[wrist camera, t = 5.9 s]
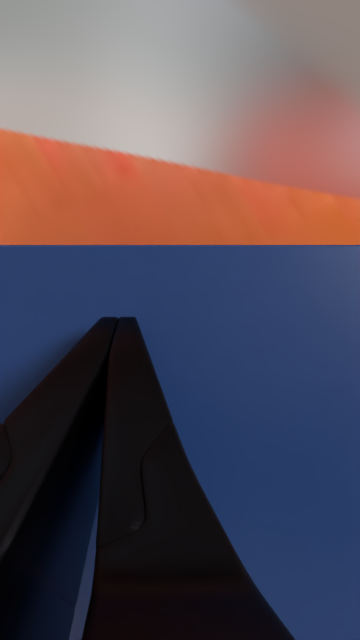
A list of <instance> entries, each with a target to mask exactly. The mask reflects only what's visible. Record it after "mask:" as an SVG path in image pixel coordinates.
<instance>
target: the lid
mask: <svg viewBox="0 0 360 640" xmlns="http://www.w3.org/2000/svg"><path fill="white" fill-rule="evenodd" d="M101 317H118V318H120V317H136V319H137V321H138V324H139V327H140V330H141V332H142V335H143V338H144V341H145V343H146V346H147V349H148V352H149V355H150V357H151V360H152V363H153V366H154V368H155V371H156V374H157V377H158V380H159V382H160V385H161V388H162V391H163V393H164V396H165V399H166V402H167V404H168V407H169V410H170V413H171V416H172V418H173V423H174V424H175V426H176V429H177V432H178V435H179V437H180V440H181V442H182V445H183V447H184V450H185V452H186V455H187V457H188V460H189V462H190V464H191V466H192V468H193V470H194V472H195V475H196V477H197V479H198V481H199V483H200V485H201V487H202V489H203V491H204V492H205V494H206V496H207V498H208V500H209V502H210V504H211V506H212V508H213V510H214V511H215V513H216V515H217V517H218V519H219V521H220V523H221V525H222V527H223V528H224V530H225V532H226V534H227V536H228V538H229V540H230V542H231V544H232V545H233V547H234V549H235V551H236V553H237V555H238V556H239V558H240V560H241V562H242V563H243V565H244V567H245V569H246V570H247V572H248V574H249V575H250V577H251V578H252V580H253V582H254V583H255V585H256V586H257V588H258V589H259V591H260V592H261V594H262V595H263V597H264V598H265V599H266V601H267V602H268V603H269V605H270V606H271V607H272V609H273V610H274V611H275V613H276V614H277V615H278V617H279V618H280V619H281V621H282V622H283V624H284V625H285V626H286V628H287V629H288V630H289V632H290V633H291V634H292V636H293V637H294V638H295V640H360V245H0V424H4V420H5V419H6V418H7V417H8V416H9V415H10V414H11V412H12V411H13V410H14V409H15V408H16V407H17V406H18V405H19V404H20V403H21V402H22V401H23V400H24V399H25V398H26V396H27V395H28V394H29V393H30V392H31V391H32V390H33V389H34V388H35V387H36V386H37V385H38V384H39V383H40V382H41V381H42V379H43V378H44V377H45V376H46V375H47V374H48V373H49V372H50V371H51V370H52V369H53V368H54V367H55V366H56V365H57V364H58V362H59V361H60V360H61V359H62V358H63V357H64V356H65V355H66V354H67V353H68V352H69V351H70V350H71V349H72V348H73V347H74V345H75V344H76V343H77V342H78V341H79V340H80V339H81V338H82V337H83V336H84V335H85V334H86V333H87V332H88V331H89V330H90V328H91V327H92V326H93V325H94V324H95V323H96V322H97V321H98V320H99V319H100V318H101ZM98 505H99V499H98V503H97V508H96V513H95V518H94V522H93V527H92V532H91V537H90V541H89V546H88V551H87V556H86V560H85V565H84V570H83V575H82V579H81V584H80V589H79V594H78V598H77V603H76V607H75V608H74V609H75V613H74V618H73V623H72V627H71V632H70V637H69V640H82V635H83V630H84V625H85V621H86V616H87V611H88V607H89V602H90V597H91V591H92V583H93V575H94V565H95V553H96V550H97V549H96V535H97V520H98Z"/></svg>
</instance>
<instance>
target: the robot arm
mask: <svg viewBox="0 0 360 640" xmlns="http://www.w3.org/2000/svg"><path fill="white" fill-rule="evenodd" d="M98 499H99V505H98V520H97V535H96V549H97V550H96V553H95V565H94V575H93V583H92V591H91V597H90V602H89V607H88V611H87V616H86V621H85V625H84V630H83V635H82V640H295V638H294V637H293V636H292V634H291V633H290V632H289V630H288V629H287V628H286V626H285V625H284V624H283V622H282V621H281V619H280V618H279V617H278V615H277V614H276V613H275V611H274V610H273V609H272V607H271V606H270V605H269V603H268V602H267V601H266V599H265V598H264V597H263V595H262V594H261V592H260V591H259V589H258V588H257V586H256V585H255V583H254V582H253V580H252V578H251V577H250V575H249V574H248V572H247V570H246V569H245V567H244V565H243V563H242V562H241V560H240V558H239V556H238V555H237V553H236V551H235V549H234V547H233V545H232V544H231V542H230V540H229V538H228V536H227V534H226V532H225V530H224V528H223V527H222V525H221V523H220V521H219V519H218V517H217V515H216V513H215V511H214V510H213V508H212V506H211V504H210V502H209V500H208V498H207V496H206V494H205V492H204V491H203V489H202V487H201V485H200V483H199V481H198V479H197V477H196V475H195V472H194V470H193V468H192V466H191V464H190V462H189V460H188V457H187V455H186V452H185V450H184V447H183V445H182V442H181V440H180V437H179V435H178V432H177V429H176V426H175V424H174V423H173V418H172V416H171V413H170V410H169V407H168V404H167V402H166V399H165V396H164V393H163V391H162V388H161V385H160V382H159V380H158V377H157V374H156V371H155V368H154V366H153V363H152V360H151V357H150V355H149V352H148V349H147V346H146V343H145V341H144V338H143V335H142V332H141V330H140V327H139V324H138V321H137V319H136V317H120V318H118V317H101V318H100V319H99V320H98V321H97V322H96V323H95V324H94V325H93V326H92V327H91V328H90V330H89V331H88V332H87V333H86V334H85V335H84V336H83V337H82V338H81V339H80V340H79V341H78V342H77V343H76V344H75V345H74V347H73V348H72V349H71V350H70V351H69V352H68V353H67V354H66V355H65V356H64V357H63V358H62V359H61V360H60V361H59V362H58V364H57V365H56V366H55V367H54V368H53V369H52V370H51V371H50V372H49V373H48V374H47V375H46V376H45V377H44V378H43V379H42V381H41V382H40V383H39V384H38V385H37V386H36V387H35V388H34V389H33V390H32V391H31V392H30V393H29V394H28V395H27V396H26V398H25V399H24V400H23V401H22V402H21V403H20V404H19V405H18V406H17V407H16V408H15V409H14V410H13V411H12V412H11V414H10V415H9V416H8V417H7V418H6V419H5V420H4V424H0V640H69V637H70V632H71V627H72V623H73V618H74V613H75V609H74V608H75V607H76V603H77V598H78V594H79V589H80V584H81V579H82V575H83V570H84V565H85V560H86V556H87V551H88V546H89V541H90V537H91V532H92V527H93V522H94V518H95V513H96V508H97V503H98Z"/></svg>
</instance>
